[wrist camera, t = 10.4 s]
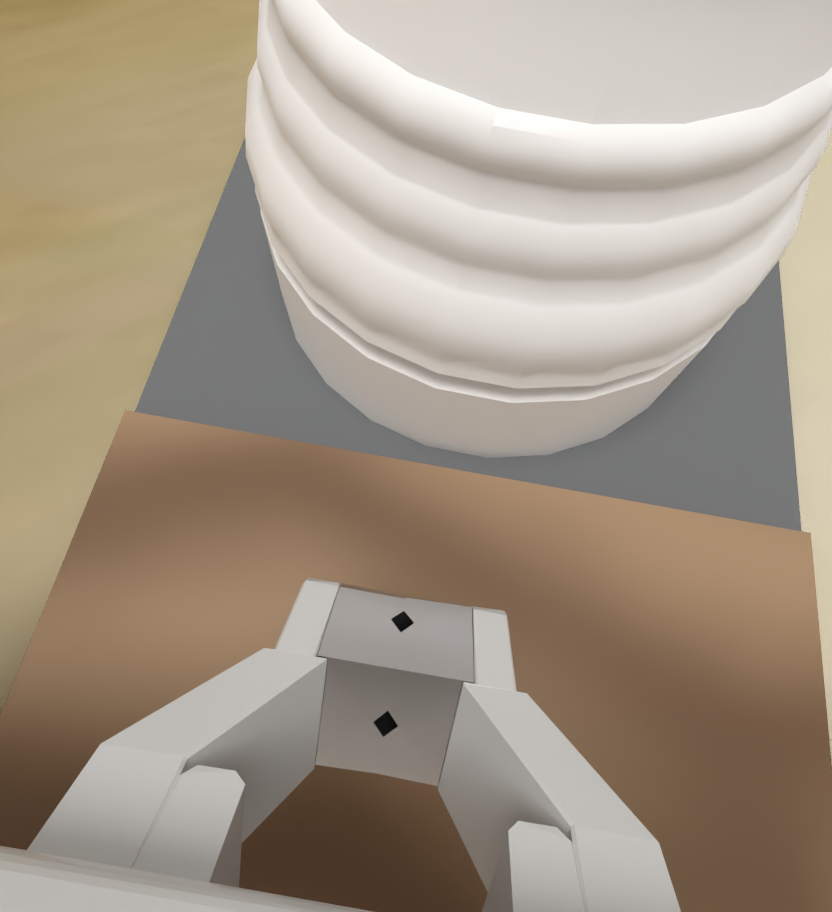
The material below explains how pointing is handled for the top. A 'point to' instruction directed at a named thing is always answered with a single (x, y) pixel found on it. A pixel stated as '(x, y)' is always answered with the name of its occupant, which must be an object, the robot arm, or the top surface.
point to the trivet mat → (578, 468)
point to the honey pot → (527, 197)
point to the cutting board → (462, 583)
